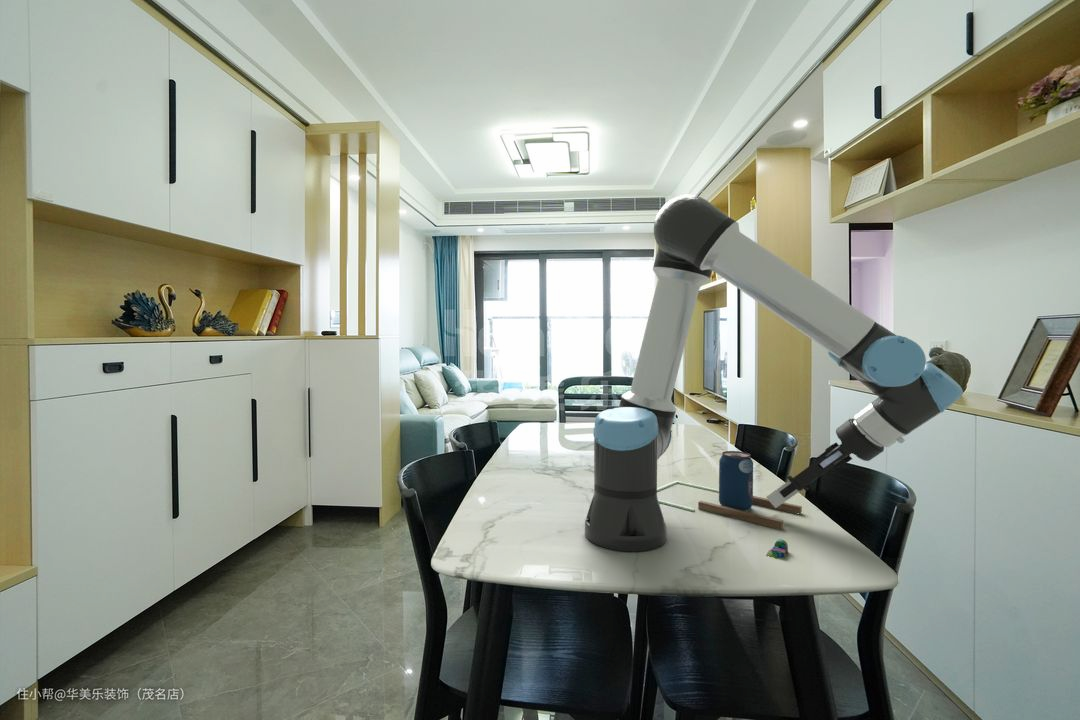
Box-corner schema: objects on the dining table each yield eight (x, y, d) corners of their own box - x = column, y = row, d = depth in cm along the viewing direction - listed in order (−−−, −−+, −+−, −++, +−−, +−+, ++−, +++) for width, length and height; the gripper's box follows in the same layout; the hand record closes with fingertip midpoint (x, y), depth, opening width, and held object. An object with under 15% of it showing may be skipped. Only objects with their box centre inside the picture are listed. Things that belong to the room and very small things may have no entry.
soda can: (758, 513, 102) (758, 457, 102) (725, 513, 102) (725, 457, 102) (745, 502, 109) (745, 450, 109) (714, 502, 109) (714, 450, 109)
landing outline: (693, 511, 103) (693, 509, 103) (638, 497, 113) (638, 495, 113) (727, 493, 116) (728, 491, 116) (676, 481, 125) (676, 480, 125)
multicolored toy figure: (769, 549, 85) (770, 536, 85) (787, 554, 83) (788, 540, 83) (764, 558, 81) (764, 544, 81) (782, 562, 80) (782, 548, 80)
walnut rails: (780, 529, 93) (781, 522, 93) (698, 508, 105) (698, 502, 105) (801, 513, 102) (801, 506, 102) (723, 495, 114) (723, 489, 114)
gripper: (878, 455, 82) (774, 526, 94) (892, 444, 91) (795, 509, 103) (843, 420, 85) (747, 493, 97) (860, 413, 94) (770, 480, 107)
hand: (772, 501), depth 100 cm, fingers closed
